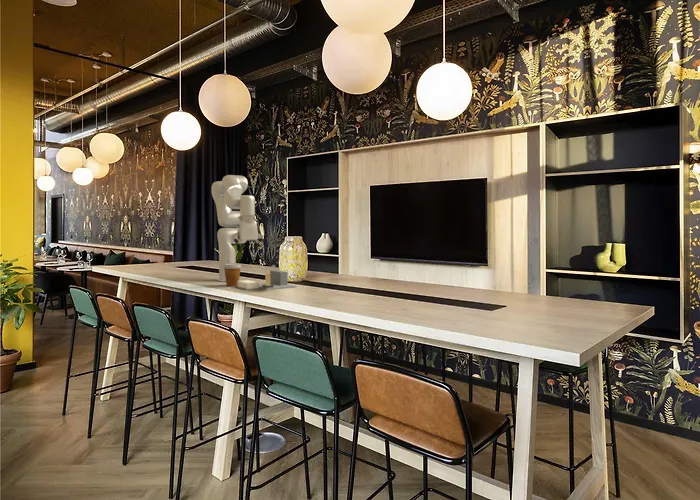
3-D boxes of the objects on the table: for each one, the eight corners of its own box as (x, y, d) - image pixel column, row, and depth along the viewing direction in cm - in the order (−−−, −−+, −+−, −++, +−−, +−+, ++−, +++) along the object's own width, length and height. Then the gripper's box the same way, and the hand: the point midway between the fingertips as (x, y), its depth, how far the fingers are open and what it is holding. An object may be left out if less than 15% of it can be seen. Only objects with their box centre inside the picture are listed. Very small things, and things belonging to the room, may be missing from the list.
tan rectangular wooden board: (265, 287, 235) (265, 273, 235) (265, 283, 249) (265, 271, 248) (270, 287, 236) (270, 273, 235) (270, 283, 249) (270, 271, 249)
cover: (237, 286, 250) (237, 280, 250) (248, 285, 254) (248, 280, 254) (247, 289, 241) (247, 283, 241) (258, 288, 245) (258, 282, 245)
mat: (235, 287, 250) (235, 286, 250) (249, 285, 255) (249, 285, 255) (245, 290, 240) (245, 289, 240) (260, 288, 245) (260, 288, 245)
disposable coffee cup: (243, 284, 260) (243, 263, 259) (238, 287, 250) (237, 265, 250) (227, 284, 261) (227, 263, 260) (220, 286, 251) (220, 264, 251)
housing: (251, 286, 255) (251, 271, 255) (280, 283, 266) (280, 269, 266) (266, 289, 241) (266, 274, 241) (296, 287, 252) (296, 272, 252)
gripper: (235, 218, 237) (235, 252, 238) (265, 219, 248) (265, 250, 249) (229, 218, 243) (229, 251, 244) (258, 218, 254) (258, 250, 255)
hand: (247, 250), depth 247 cm, fingers open, 9 cm apart
